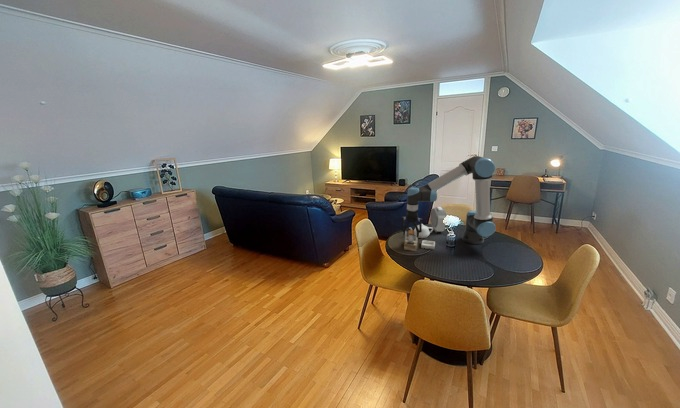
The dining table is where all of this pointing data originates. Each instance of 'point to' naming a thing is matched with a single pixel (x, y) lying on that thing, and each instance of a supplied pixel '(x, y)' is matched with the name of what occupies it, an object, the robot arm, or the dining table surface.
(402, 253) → the dining table surface
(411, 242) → the pin
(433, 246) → the tray
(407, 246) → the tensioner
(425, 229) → the teapot
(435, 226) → the grey piece
